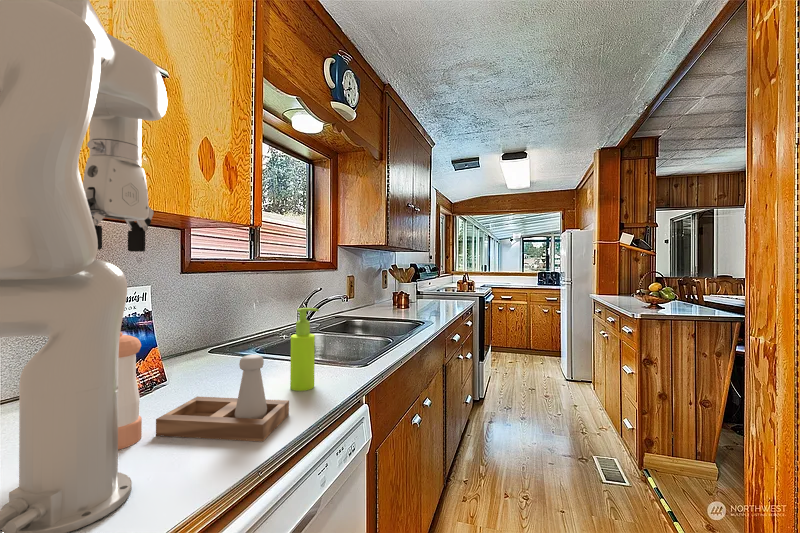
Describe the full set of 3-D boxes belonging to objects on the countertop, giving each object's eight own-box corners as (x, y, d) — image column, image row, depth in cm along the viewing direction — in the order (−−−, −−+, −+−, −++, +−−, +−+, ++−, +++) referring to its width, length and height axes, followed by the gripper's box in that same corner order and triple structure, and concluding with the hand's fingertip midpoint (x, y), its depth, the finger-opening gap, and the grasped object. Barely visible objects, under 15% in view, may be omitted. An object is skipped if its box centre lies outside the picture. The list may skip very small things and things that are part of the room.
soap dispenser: (320, 389, 96) (320, 308, 96) (291, 392, 94) (291, 309, 94) (316, 382, 102) (317, 306, 101) (289, 384, 99) (290, 307, 99)
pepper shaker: (78, 448, 64) (78, 334, 64) (120, 430, 71) (120, 327, 71) (111, 454, 62) (112, 336, 62) (151, 435, 69) (152, 329, 69)
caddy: (262, 441, 67) (262, 424, 67) (155, 435, 69) (155, 419, 69) (288, 415, 79) (289, 400, 79) (197, 410, 81) (197, 396, 81)
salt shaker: (256, 431, 70) (256, 360, 70) (228, 429, 71) (228, 358, 71) (272, 419, 76) (273, 353, 76) (246, 416, 77) (246, 351, 77)
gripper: (92, 140, 61) (92, 248, 61) (168, 167, 78) (168, 252, 78) (49, 141, 62) (49, 248, 62) (134, 168, 79) (133, 252, 79)
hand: (115, 250), depth 70 cm, fingers open, 9 cm apart
